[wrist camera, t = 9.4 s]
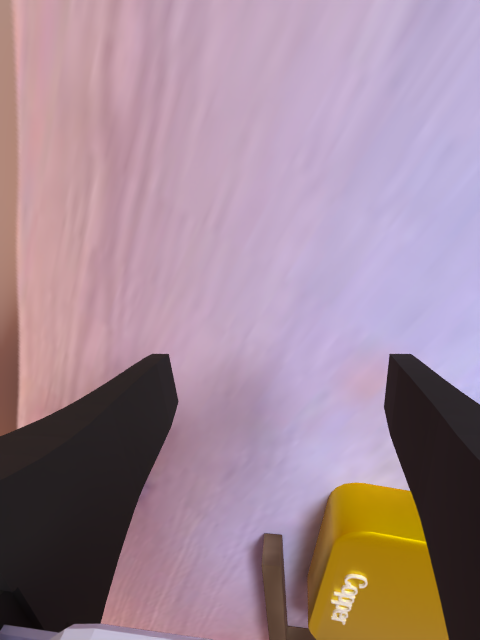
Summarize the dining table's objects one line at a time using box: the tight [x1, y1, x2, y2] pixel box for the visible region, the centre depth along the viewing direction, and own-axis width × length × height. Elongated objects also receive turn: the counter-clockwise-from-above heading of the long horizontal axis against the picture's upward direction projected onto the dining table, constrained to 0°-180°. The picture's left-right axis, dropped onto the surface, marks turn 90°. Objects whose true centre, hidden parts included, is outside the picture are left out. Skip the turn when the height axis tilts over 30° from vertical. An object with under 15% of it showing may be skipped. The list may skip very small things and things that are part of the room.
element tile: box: [307, 483, 449, 640], centre depth 27 cm, size 15×15×5 cm
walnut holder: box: [262, 533, 316, 640], centre depth 31 cm, size 21×16×2 cm
